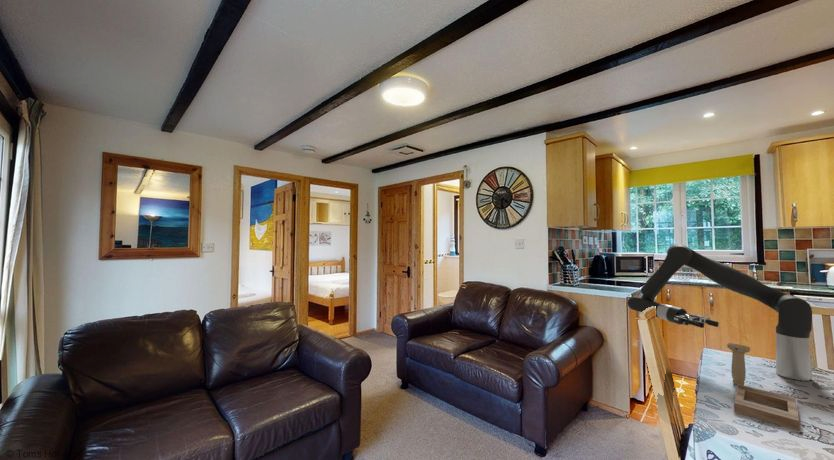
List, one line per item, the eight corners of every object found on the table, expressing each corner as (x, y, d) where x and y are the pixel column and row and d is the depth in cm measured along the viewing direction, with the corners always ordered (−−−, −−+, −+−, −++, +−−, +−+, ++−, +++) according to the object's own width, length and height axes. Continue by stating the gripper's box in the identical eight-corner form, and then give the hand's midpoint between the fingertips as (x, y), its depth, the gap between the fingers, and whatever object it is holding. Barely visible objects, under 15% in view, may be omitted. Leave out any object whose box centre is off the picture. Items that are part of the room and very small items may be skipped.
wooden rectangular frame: (738, 392, 121) (738, 384, 121) (795, 407, 111) (795, 398, 111) (734, 411, 108) (734, 402, 108) (799, 430, 98) (799, 420, 98)
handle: (747, 389, 124) (747, 349, 124) (725, 382, 129) (725, 344, 130) (751, 386, 126) (751, 347, 126) (729, 379, 132) (729, 342, 132)
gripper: (660, 306, 151) (699, 317, 135) (683, 305, 155) (723, 315, 139) (659, 322, 151) (698, 334, 135) (681, 320, 155) (722, 332, 139)
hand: (710, 325), depth 137 cm, fingers open, 8 cm apart
